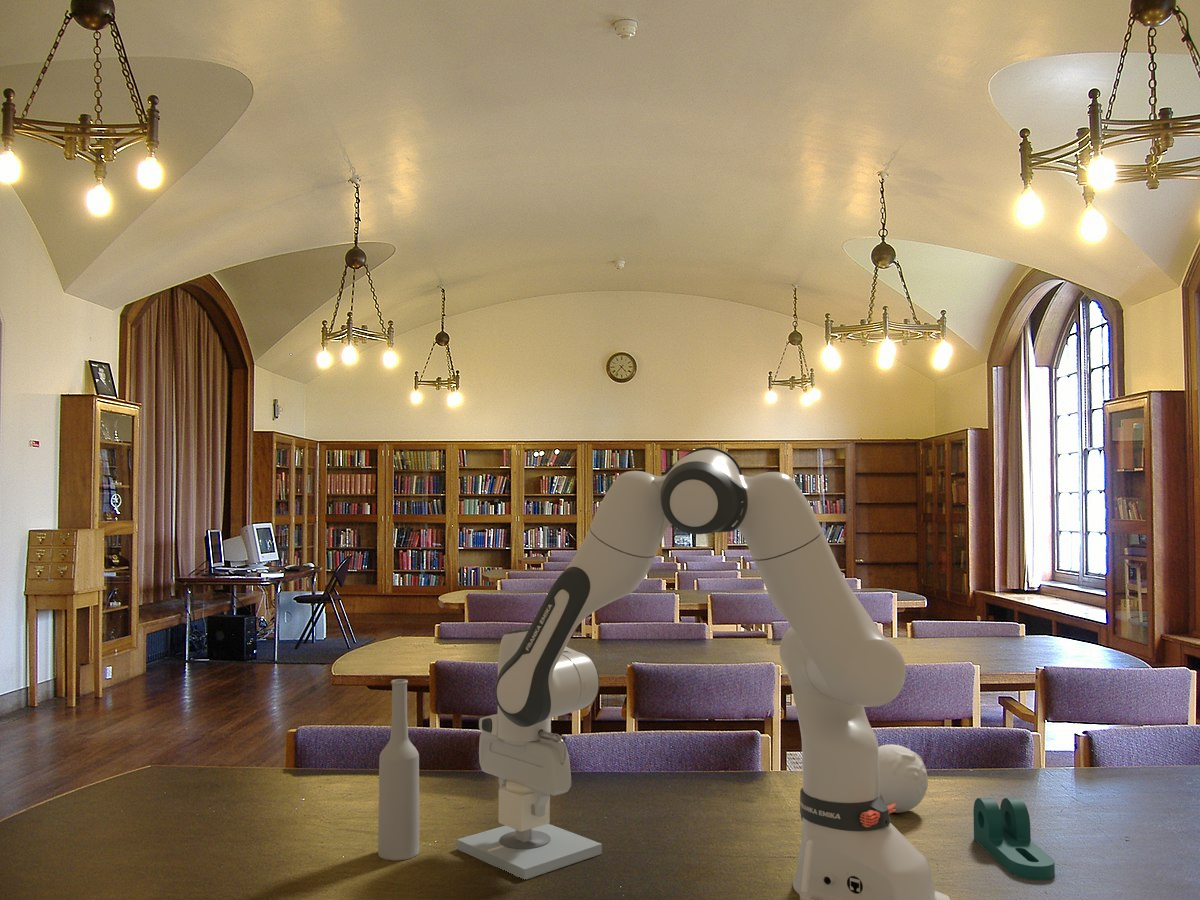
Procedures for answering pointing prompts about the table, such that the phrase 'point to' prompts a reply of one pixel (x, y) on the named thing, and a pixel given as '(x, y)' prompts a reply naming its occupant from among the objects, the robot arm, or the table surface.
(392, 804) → the bottle
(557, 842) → the panel
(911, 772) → the decorative ball
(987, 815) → the bracket
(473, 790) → the table surface
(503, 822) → the knob
